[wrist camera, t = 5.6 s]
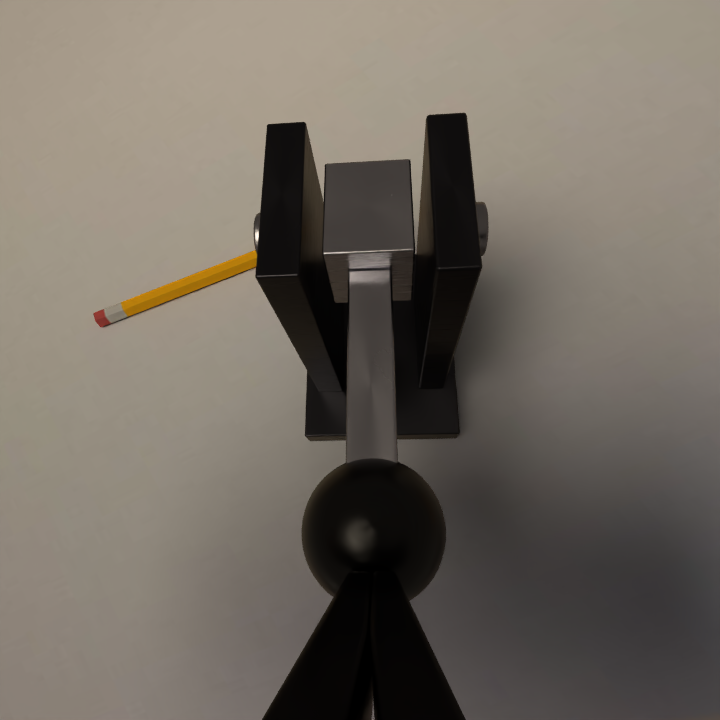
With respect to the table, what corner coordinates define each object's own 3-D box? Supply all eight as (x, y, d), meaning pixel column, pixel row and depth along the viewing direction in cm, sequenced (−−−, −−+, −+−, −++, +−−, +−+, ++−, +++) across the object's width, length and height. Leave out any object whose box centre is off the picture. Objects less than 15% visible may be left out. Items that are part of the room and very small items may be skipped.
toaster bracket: (457, 438, 19) (516, 345, 10) (309, 441, 20) (225, 354, 10) (444, 264, 22) (481, 56, 12) (314, 269, 22) (252, 71, 13)
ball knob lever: (443, 604, 11) (459, 619, 8) (311, 603, 11) (282, 618, 8) (421, 224, 15) (426, 148, 12) (324, 229, 15) (307, 154, 12)
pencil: (100, 315, 23) (91, 309, 22) (363, 213, 24) (362, 204, 23) (104, 330, 22) (95, 324, 22) (369, 226, 23) (369, 217, 23)
